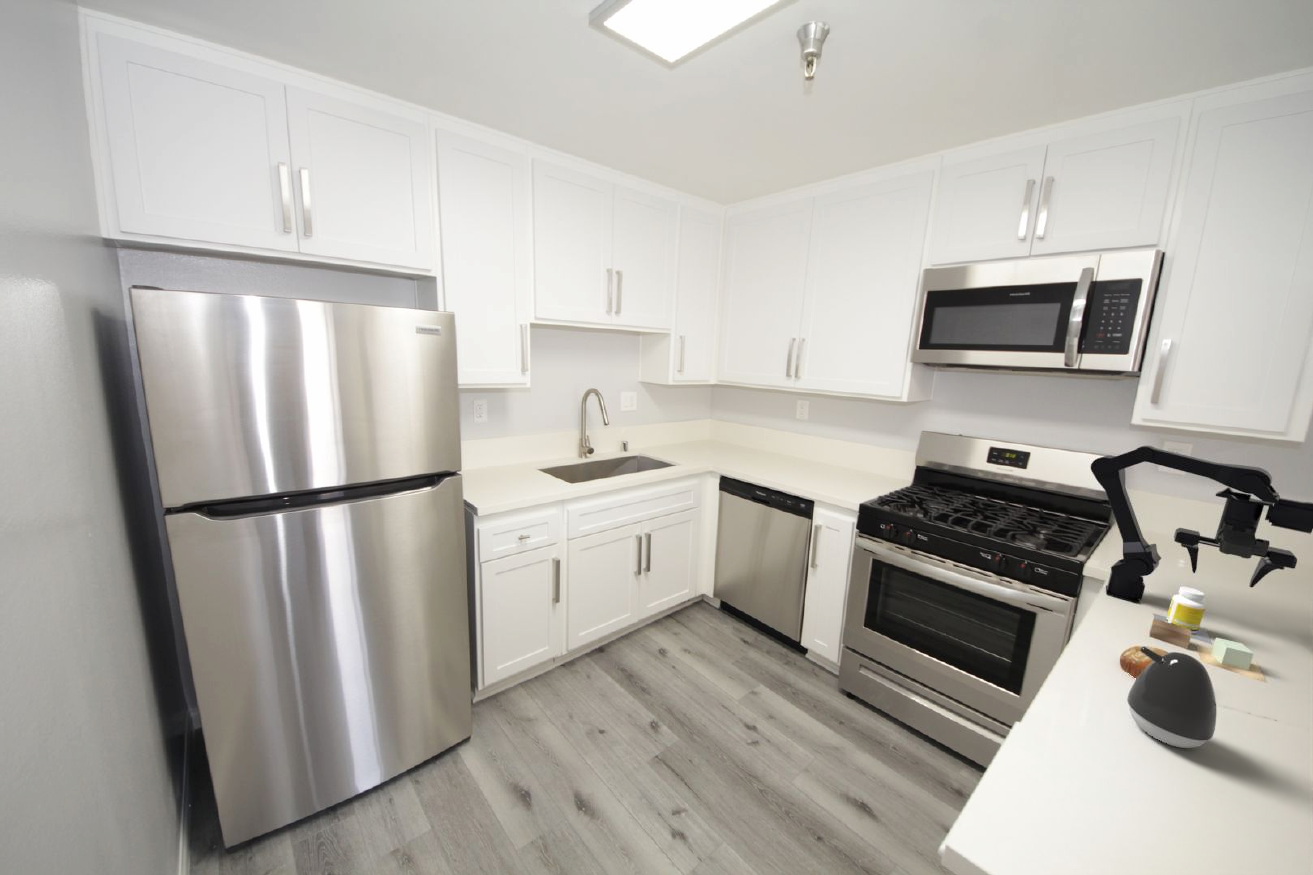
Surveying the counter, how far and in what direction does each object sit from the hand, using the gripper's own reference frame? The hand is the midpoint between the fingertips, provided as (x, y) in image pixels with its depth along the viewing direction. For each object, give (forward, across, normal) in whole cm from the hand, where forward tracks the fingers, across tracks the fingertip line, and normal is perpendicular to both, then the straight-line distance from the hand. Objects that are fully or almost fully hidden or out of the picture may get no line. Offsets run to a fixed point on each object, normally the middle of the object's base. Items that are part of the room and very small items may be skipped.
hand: (1221, 579), depth 117 cm
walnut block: (+12, -7, -20) cm, 25 cm away
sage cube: (+12, +2, -22) cm, 25 cm away
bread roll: (+12, -10, -42) cm, 45 cm away
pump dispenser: (+12, -9, -62) cm, 64 cm away
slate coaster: (+12, -5, -10) cm, 16 cm away
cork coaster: (+12, +2, -22) cm, 25 cm away
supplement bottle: (+12, -5, -10) cm, 16 cm away
